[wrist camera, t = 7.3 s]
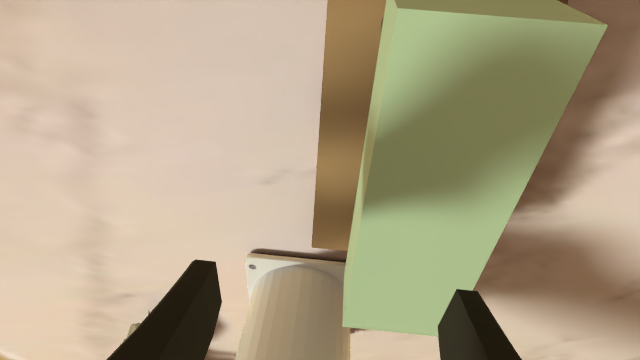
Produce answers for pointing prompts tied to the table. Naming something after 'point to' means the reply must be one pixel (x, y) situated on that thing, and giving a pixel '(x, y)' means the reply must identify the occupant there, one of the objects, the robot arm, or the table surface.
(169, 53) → the table surface
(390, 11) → the shelf board
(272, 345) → the robot arm
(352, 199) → the peg base
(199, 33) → the table surface
